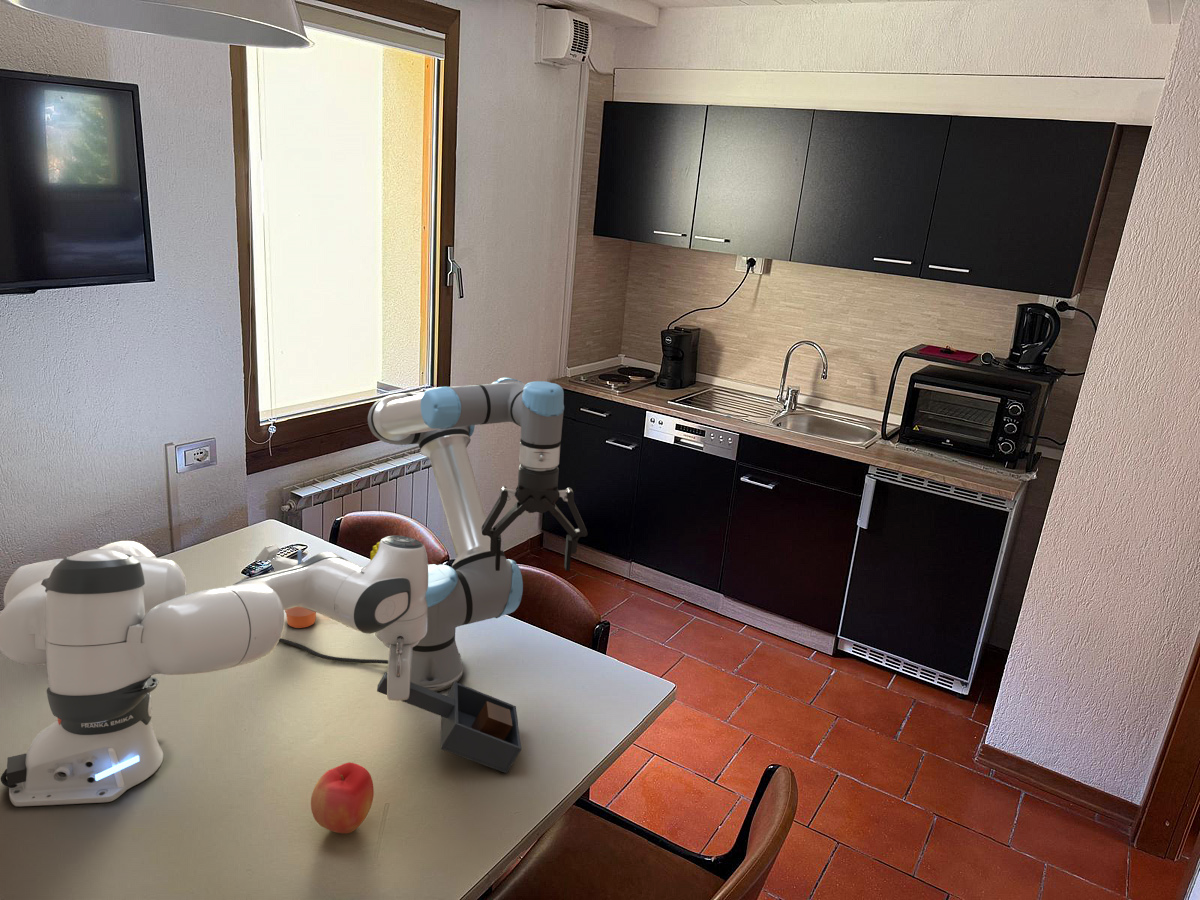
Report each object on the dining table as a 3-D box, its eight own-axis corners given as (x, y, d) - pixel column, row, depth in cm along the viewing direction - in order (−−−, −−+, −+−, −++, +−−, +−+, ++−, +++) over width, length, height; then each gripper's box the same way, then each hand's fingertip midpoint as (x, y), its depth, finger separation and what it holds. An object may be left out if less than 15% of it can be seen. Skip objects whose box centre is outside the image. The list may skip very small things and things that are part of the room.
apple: (348, 797, 145) (348, 747, 142) (386, 823, 140) (386, 772, 137) (300, 828, 137) (298, 775, 134) (338, 857, 132) (337, 803, 129)
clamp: (253, 565, 223) (254, 542, 221) (265, 560, 226) (266, 537, 224) (309, 593, 215) (310, 569, 213) (320, 588, 218) (321, 564, 216)
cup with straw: (309, 634, 194) (307, 561, 188) (272, 627, 195) (269, 555, 190) (329, 615, 202) (328, 546, 197) (294, 609, 204) (292, 540, 198)
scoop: (367, 721, 146) (382, 695, 145) (373, 678, 158) (387, 654, 157) (506, 773, 154) (521, 749, 153) (502, 728, 166) (516, 706, 165)
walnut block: (472, 743, 156) (488, 717, 155) (471, 726, 160) (486, 700, 159) (496, 751, 157) (512, 726, 156) (494, 734, 162) (510, 709, 161)
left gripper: (418, 655, 140) (416, 727, 144) (421, 596, 159) (420, 662, 163) (378, 655, 138) (378, 728, 142) (386, 596, 158) (386, 662, 162)
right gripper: (472, 470, 154) (467, 576, 161) (607, 473, 159) (598, 576, 165) (471, 456, 161) (467, 559, 168) (601, 460, 166) (592, 559, 172)
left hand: (400, 692), depth 153 cm, fingers closed on scoop, 2 cm apart
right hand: (532, 568), depth 166 cm, fingers open, 13 cm apart
